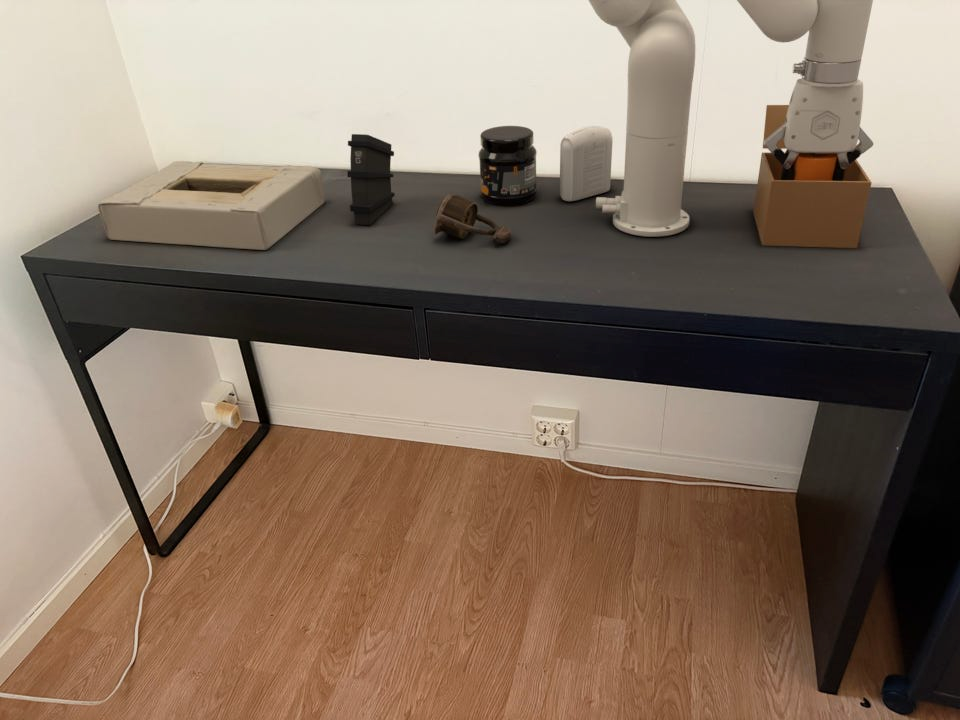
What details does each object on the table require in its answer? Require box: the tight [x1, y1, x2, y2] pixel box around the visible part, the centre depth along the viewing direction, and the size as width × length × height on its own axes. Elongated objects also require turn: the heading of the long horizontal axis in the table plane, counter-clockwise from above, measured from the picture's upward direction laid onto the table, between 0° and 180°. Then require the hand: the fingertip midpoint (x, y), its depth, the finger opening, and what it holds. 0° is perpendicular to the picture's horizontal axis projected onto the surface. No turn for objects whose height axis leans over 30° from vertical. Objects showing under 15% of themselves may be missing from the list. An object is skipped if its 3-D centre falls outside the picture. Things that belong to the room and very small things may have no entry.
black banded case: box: [346, 133, 396, 226], centre depth 138 cm, size 4×13×15 cm, turn 163°
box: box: [97, 160, 326, 251], centre depth 140 cm, size 23×8×32 cm
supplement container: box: [477, 125, 538, 206], centre depth 141 cm, size 10×10×12 cm
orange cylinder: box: [793, 153, 837, 181], centre depth 119 cm, size 6×6×9 cm
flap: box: [762, 104, 789, 150], centre depth 124 cm, size 14×7×1 cm
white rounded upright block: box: [559, 125, 613, 202], centre depth 140 cm, size 10×4×12 cm, turn 123°
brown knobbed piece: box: [432, 193, 512, 245], centre depth 127 cm, size 7×13×10 cm
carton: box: [752, 152, 873, 249], centre depth 122 cm, size 14×14×10 cm
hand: (809, 189), depth 121 cm, fingers closed on orange cylinder, 6 cm apart
